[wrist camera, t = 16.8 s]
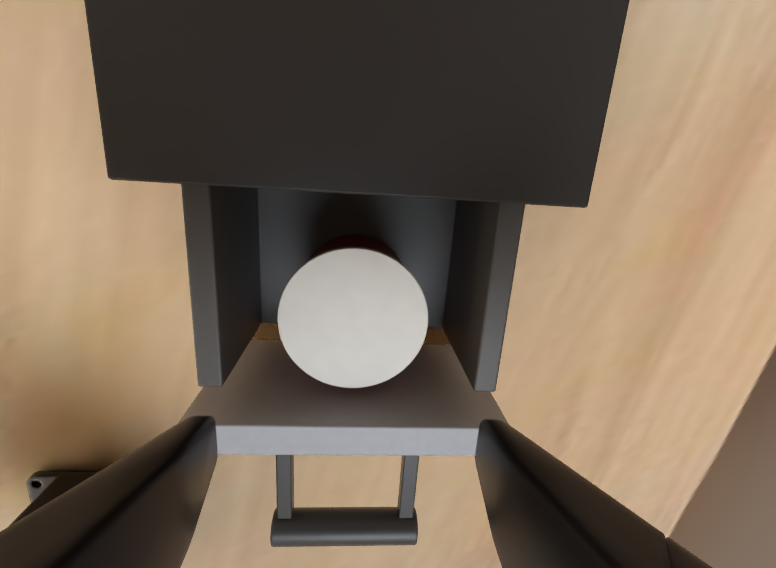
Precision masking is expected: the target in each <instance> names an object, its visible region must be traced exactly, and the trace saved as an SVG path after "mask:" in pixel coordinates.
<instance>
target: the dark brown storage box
mask: <svg viewBox="0 0 776 568" xmlns="http://www.w3.org/2000/svg"><path fill="white" fill-rule="evenodd" d="M84 1H85V8H86V16H87V23H88V31H89V38H90V46H91V53H92V61H93V68H94V76H95V83H96V91H97V98H98V106H99V113H100V121H101V128H102V136H103V143H104V151H105V158H106V166H107V173H108V178H109V179H112V180H128V181H145V182H161V183H178V184H195V185H212V186H229V187H245V188H262V189H279V190H296V191H313V192H329V193H346V194H363V195H380V196H397V197H413V198H430V199H447V200H464V201H480V202H497V203H514V204H531V205H548V206H564V207H581V208H585V207H587V205H588V201H589V196H590V191H591V186H592V181H593V176H594V171H595V166H596V162H597V157H598V152H599V147H600V142H601V137H602V132H603V127H604V122H605V117H606V113H607V108H608V103H609V98H610V93H611V88H612V83H613V78H614V73H615V68H616V63H617V59H618V54H619V49H620V44H621V39H622V34H623V29H624V24H625V19H626V14H627V10H628V5H629V0H84Z"/></svg>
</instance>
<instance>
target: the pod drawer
mask: <svg viewBox="0 0 776 568" xmlns="http://www.w3.org/2000/svg"><path fill="white" fill-rule="evenodd" d="M181 186H182V198H183V210H184V222H185V234H186V246H187V258H188V270H189V282H190V294H191V306H192V318H193V330H194V342H195V354H196V367H197V379H198V386H204V387H203V388H202V390H201V391H200V393H199V394H198V395H197V397H196V398H195V400H194V401H193V403H192V404H191V406H190V407H189V408H188V410H187V411H186V413H185V414H184V416H183V417H182V418H181V420H180V421H179V423H180V422H182V421H183V420H185V419H187V418H188V417H190V416H193V415H199V416H212V417H213V418H214V419H215V423H216V436H217V450H218V453H217V454H230V455H276V486H277V508H276V509H275V512H274V515H273V519H272V526H271V538H270V540H271V546H272V547H300V546H374V545H415V544H416V542H417V536H418V524H417V514H416V510H415V508H414V501H415V491H416V482H417V472H418V462H419V456H475V452H476V445H477V438H478V432H479V425H480V423H481V421H482V420H483V419H500V420H502V421H504V422H506V423H507V424H508V422H507V421H506V419H505V417H504V415H503V414H502V412H501V410H500V408H499V407H498V405H497V403H496V401H495V400H494V398H493V396H492V394H491V393H490V392H494V391H495V390H496V383H497V377H498V371H499V364H500V358H501V352H502V346H503V339H504V333H505V327H506V321H507V314H508V308H509V302H510V295H511V289H512V283H513V277H514V270H515V264H516V258H517V252H518V245H519V239H520V233H521V226H522V220H523V214H524V208H525V204H514V203H497V202H480V201H464V200H447V199H430V198H413V197H397V196H380V195H363V194H346V193H329V192H313V191H296V190H279V189H262V188H245V187H229V186H212V185H195V184H181ZM350 234H359V235H366V236H370V237H373V238H375V239H378V240H380V241H381V242H383V243H385V244H386V245H387V246H389V247H390V248H391V249H392V250H393V251H394V252H395V254H396V255H397V256H398V258H399V260H400V261H401V263H402V264H403V265H404V266H405V267H406V268H407V269H408V270H409V271H410V272H411V273H412V274H413V276H414V277H415V278H416V280H417V281H418V283H419V285H420V287H421V289H422V291H423V294H424V296H425V299H426V303H427V308H428V327H427V328H443V330H444V332H445V334H446V336H447V338H448V340H449V342H450V344H451V345H439V344H422V347H421V349H420V351H419V352H418V354H417V355H416V357H415V358H414V359H413V361H412V362H411V363H410V364H409V365H408V366H407V367H406V368H405V369H404V370H403V371H401V372H400V373H399V374H397V375H396V376H394V377H392V378H390V379H389V380H387V381H384V382H382V383H379V384H376V385H372V386H368V387H362V388H344V387H338V386H333V385H329V384H326V383H323V382H321V381H319V380H317V379H315V378H313V377H311V376H310V375H308V374H307V373H306V372H304V371H303V370H302V369H301V368H299V366H298V365H297V364H296V363H295V362H294V361H293V360H292V359H291V357H290V356H289V355H288V353H287V351H286V349H285V347H284V346H283V343H282V340H265V339H252V337H253V336H254V334H255V333H256V331H257V329H258V328H259V326H260V324H261V323H278V320H277V318H278V307H279V302H280V299H281V296H282V293H283V291H284V289H285V287H286V285H287V283H288V281H289V280H290V279H291V277H292V276H293V274H294V273H295V272H296V271H297V270H298V269H299V268H300V267H301V266H302V265H303V264H305V263H306V262H307V261H308V260H310V259H311V257H312V256H313V254H314V253H315V252H316V251H317V250H318V249H319V248H320V247H321V246H322V245H323V244H325V243H326V242H328V241H330V240H332V239H334V238H336V237H340V236H343V235H350ZM508 425H509V424H508ZM294 455H402V463H401V475H400V486H399V497H398V507H320V508H294Z"/></svg>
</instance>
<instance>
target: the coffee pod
mask: <svg viewBox="0 0 776 568" xmlns="http://www.w3.org/2000/svg"><path fill="white" fill-rule="evenodd" d="M277 320H278V330H279V334H280V338H281V340H282V343H283V346H284V347H285V349H286V351H287V353H288V355H289V356H290V357H291V359H292V360H293V361H294V362H295V363H296V364H297V365H298V366H299V368H301V369H302V370H303V371H304V372H306V373H307V374H308V375H310V376H311V377H313V378H315V379H317V380H319V381H321V382H323V383H326V384H329V385H333V386H338V387H344V388H362V387H368V386H372V385H376V384H379V383H382V382H384V381H387V380H389V379H390V378H392V377H394V376H396V375H397V374H399V373H400V372H401V371H403V370H404V369H405V368H406V367H407V366H408V365H409V364H410V363H411V362H412V361H413V359H414V358H415V357H416V355H417V354H418V352H419V351H420V349H421V347H422V344H423V342H424V340H425V336H426V333H427V327H428V308H427V303H426V299H425V296H424V294H423V291H422V289H421V287H420V285H419V283H418V281H417V280H416V278H415V277H414V276H413V274H412V273H411V272H410V271H409V270H408V269H407V268H406V267H405V266H404V265H403V264H402V263H401V261H400V260H399V258H398V256H397V255H396V254H395V252H394V251H393V250H392V249H391V248H390V247H389V246H387V245H386V244H385V243H383V242H381V241H380V240H378V239H375V238H373V237H370V236H366V235H359V234H350V235H343V236H340V237H336V238H334V239H332V240H330V241H328V242H326V243H325V244H323V245H322V246H321V247H320V248H319V249H318V250H317V251H316V252H315V253H314V254H313V256H312V257H311V259H310V260H308V261H307V262H306V263H305V264H303V265H302V266H301V267H300V268H299V269H298V270H297V271H296V272H295V273H294V274H293V276H292V277H291V279H290V280H289V281H288V283H287V285H286V287H285V289H284V291H283V293H282V296H281V299H280V302H279V307H278V318H277Z"/></svg>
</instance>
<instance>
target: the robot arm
mask: <svg viewBox="0 0 776 568" xmlns="http://www.w3.org/2000/svg"><path fill="white" fill-rule="evenodd" d="M217 453H218V450H217V436H216V423H215V419H214V418H213V417H212V416H199V415H193V416H190V417H188V418H187V419H185V420H183V421H182V422H180V423H178V424H177V425H175V426H173V427H172V428H170V429H169V430H167V431H165V432H164V433H162V434H160V435H159V436H157V437H155V438H154V439H152V440H150V441H149V442H147V443H146V444H144V445H142V446H141V447H139V448H137V449H136V450H134V451H132V452H131V453H129V454H127V455H126V456H124V457H123V458H121V459H119V460H118V461H116V462H114V463H113V464H111V465H109V466H108V467H106V468H104V469H103V470H101V471H39V472H36V473H34V474H33V475H32V476H31V477H30V478H29V479H28V480H27V488H28V492H29V496H30V500H31V504H30V505H29V506H28V507H27V508H26V509H25V510H24V511H23V512H22V513H21V514H20V515H19V516H18V517H17V518H16V519H15V520H14V521H13V522H12V523H11V525H10V526H9V527H8V528H6V529H4V530H3V531H1V532H0V568H180V567H181V564H182V562H183V560H184V558H185V555H186V553H187V550H188V548H189V545H190V543H191V540H192V537H193V534H194V531H195V528H196V525H197V522H198V518H199V515H200V512H201V509H202V506H203V503H204V500H205V496H206V493H207V490H208V487H209V484H210V481H211V478H212V474H213V471H214V468H215V465H216V461H217ZM475 461H476V467H477V472H478V476H479V480H480V485H481V489H482V493H483V498H484V502H485V507H486V511H487V515H488V520H489V524H490V528H491V532H492V536H493V540H494V543H495V547H496V550H497V553H498V556H499V559H500V562H501V565H502V568H712V567H711V566H709V565H708V564H706V563H705V562H703V561H702V560H701V559H699V558H697V557H696V556H695V555H693V554H692V553H690V552H689V551H687V550H686V549H685V548H683V547H682V546H680V545H679V544H677V543H676V542H675V541H673V540H672V539H671V538H668V537H667V538H665V536H664V534H663V533H662V532H660V531H659V530H658V529H656V528H655V527H653V526H652V525H650V524H649V523H648V522H646V521H645V520H643V519H642V518H641V517H639V516H638V515H636V514H635V513H633V512H632V511H631V510H629V509H628V508H626V507H625V506H623V505H622V504H621V503H619V502H618V501H616V500H615V499H614V498H612V497H611V496H609V495H608V494H606V493H605V492H604V491H602V490H601V489H599V488H598V487H596V486H595V485H594V484H592V483H591V482H589V481H588V480H587V479H585V478H584V477H582V476H581V475H579V474H578V473H577V472H575V471H574V470H572V469H571V468H569V467H568V466H567V465H565V464H564V463H562V462H561V461H560V460H558V459H557V458H555V457H554V456H552V455H551V454H550V453H548V452H547V451H545V450H544V449H543V448H541V447H540V446H538V445H537V444H535V443H534V442H533V441H531V440H530V439H528V438H527V437H525V436H524V435H523V434H521V433H520V432H518V431H517V430H516V429H514V428H513V427H511V426H510V425H508V424H507V423H506V422H504V421H502V420H500V419H483V420H482V421H481V423H480V425H479V432H478V438H477V445H476V452H475Z"/></svg>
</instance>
